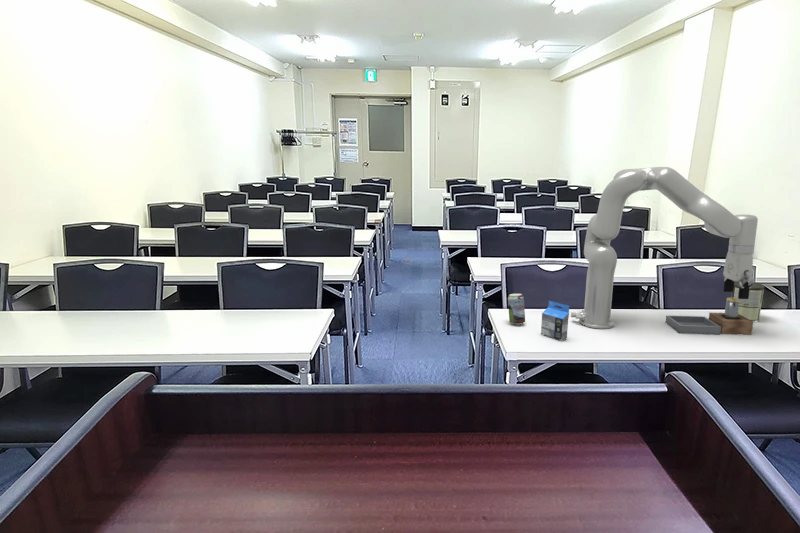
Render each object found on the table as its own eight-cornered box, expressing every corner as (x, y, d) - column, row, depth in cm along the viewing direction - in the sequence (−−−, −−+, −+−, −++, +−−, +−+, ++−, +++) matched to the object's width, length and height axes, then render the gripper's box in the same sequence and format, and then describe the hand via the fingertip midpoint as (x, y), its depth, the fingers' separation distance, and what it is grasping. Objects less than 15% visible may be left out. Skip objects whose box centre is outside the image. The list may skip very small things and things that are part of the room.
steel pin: (725, 331, 176) (730, 300, 173) (720, 327, 179) (724, 297, 177) (737, 331, 175) (742, 300, 172) (731, 328, 179) (736, 297, 176)
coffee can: (722, 314, 195) (726, 281, 192) (747, 314, 195) (752, 281, 192) (738, 322, 185) (744, 287, 182) (765, 322, 185) (771, 287, 182)
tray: (678, 333, 174) (679, 325, 173) (665, 322, 186) (666, 315, 185) (720, 334, 172) (721, 326, 172) (703, 323, 184) (704, 316, 183)
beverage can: (519, 327, 181) (520, 297, 179) (503, 323, 187) (504, 293, 184) (528, 324, 185) (530, 294, 183) (512, 319, 191) (514, 290, 188)
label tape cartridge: (540, 334, 174) (541, 302, 172) (546, 332, 177) (548, 300, 174) (561, 341, 167) (563, 307, 165) (567, 338, 170) (569, 305, 167)
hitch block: (721, 333, 173) (723, 320, 172) (707, 324, 183) (709, 312, 182) (751, 334, 172) (753, 321, 171) (735, 325, 181) (737, 313, 180)
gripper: (717, 245, 180) (712, 289, 183) (743, 253, 163) (737, 301, 166) (738, 245, 179) (733, 289, 182) (767, 253, 162) (760, 301, 165)
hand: (735, 295), depth 174 cm, fingers open, 9 cm apart
